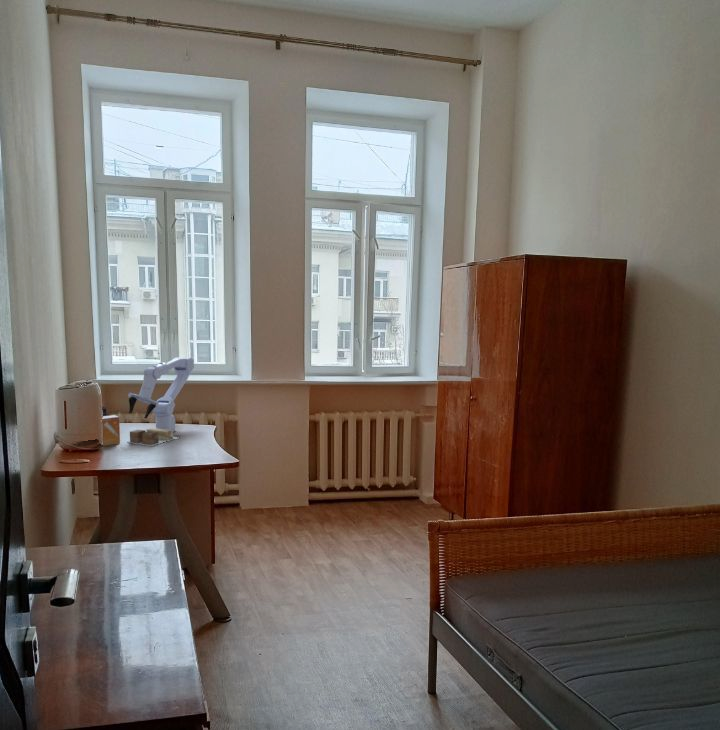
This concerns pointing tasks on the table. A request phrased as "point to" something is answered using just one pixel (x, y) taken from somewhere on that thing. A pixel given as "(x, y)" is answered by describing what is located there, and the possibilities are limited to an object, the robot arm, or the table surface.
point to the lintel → (162, 433)
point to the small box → (111, 430)
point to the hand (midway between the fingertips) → (138, 415)
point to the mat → (155, 443)
